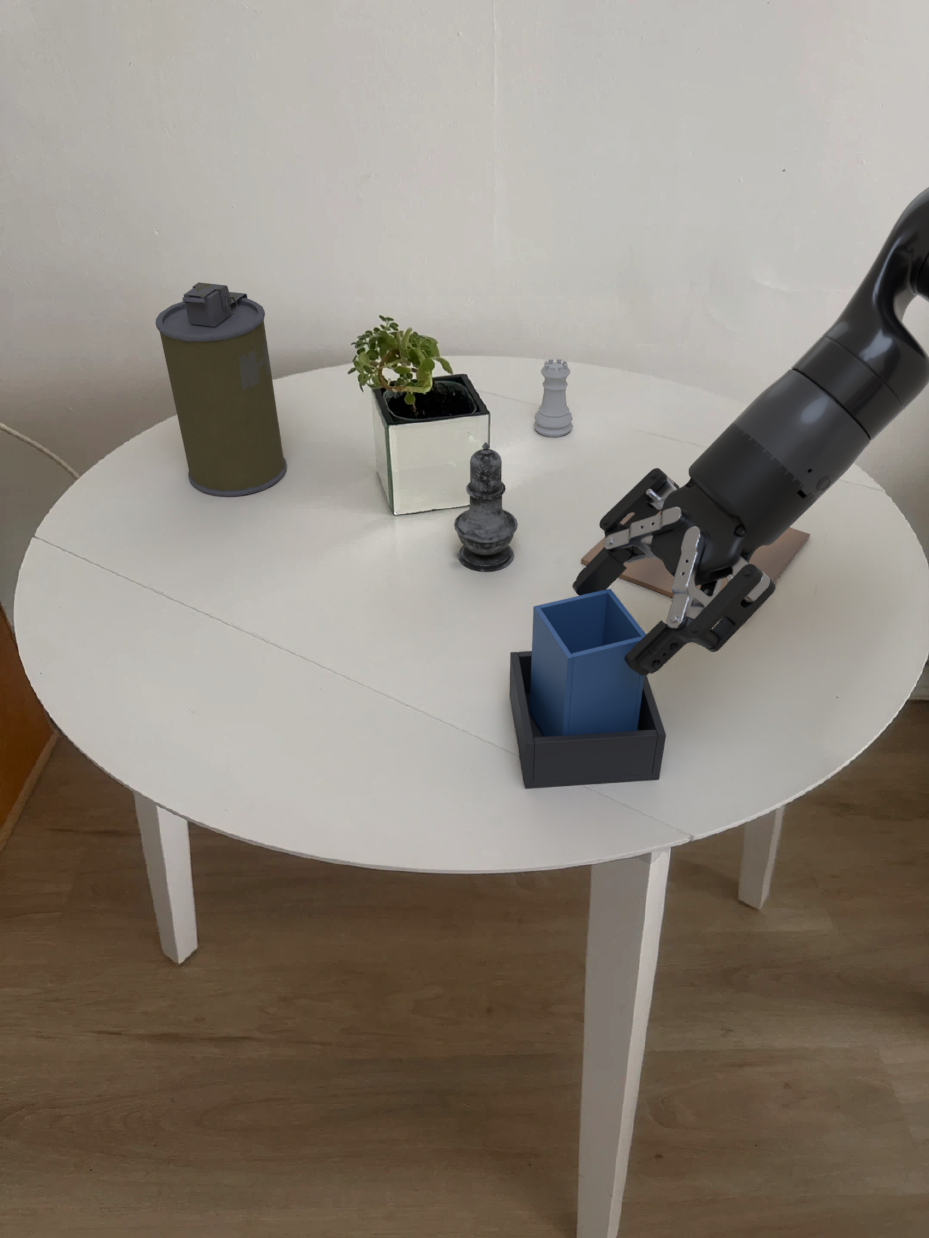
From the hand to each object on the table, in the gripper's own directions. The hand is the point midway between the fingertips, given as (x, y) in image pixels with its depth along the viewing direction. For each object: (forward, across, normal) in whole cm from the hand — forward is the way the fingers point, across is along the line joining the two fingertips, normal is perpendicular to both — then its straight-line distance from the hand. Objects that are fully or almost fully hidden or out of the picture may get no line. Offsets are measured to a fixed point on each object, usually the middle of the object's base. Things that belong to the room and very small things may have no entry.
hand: (606, 630), depth 70 cm
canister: (+21, -49, -6) cm, 54 cm away
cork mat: (-6, -19, +20) cm, 28 cm away
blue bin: (+8, 0, +6) cm, 9 cm away
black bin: (+8, 0, +6) cm, 10 cm away
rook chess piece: (-4, -46, +18) cm, 49 cm away
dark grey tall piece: (+7, -25, +7) cm, 27 cm away
